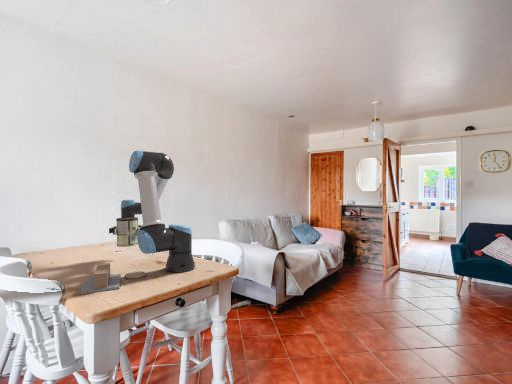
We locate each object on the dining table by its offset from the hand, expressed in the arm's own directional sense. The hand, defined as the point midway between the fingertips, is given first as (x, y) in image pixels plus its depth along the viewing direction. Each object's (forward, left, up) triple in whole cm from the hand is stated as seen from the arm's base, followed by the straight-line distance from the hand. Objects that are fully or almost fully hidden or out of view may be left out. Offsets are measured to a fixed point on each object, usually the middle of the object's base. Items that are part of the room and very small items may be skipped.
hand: (127, 231), depth 136 cm
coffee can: (+3, -3, -8) cm, 9 cm away
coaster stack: (-9, +4, -21) cm, 23 cm away
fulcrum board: (-3, +17, -21) cm, 27 cm away
